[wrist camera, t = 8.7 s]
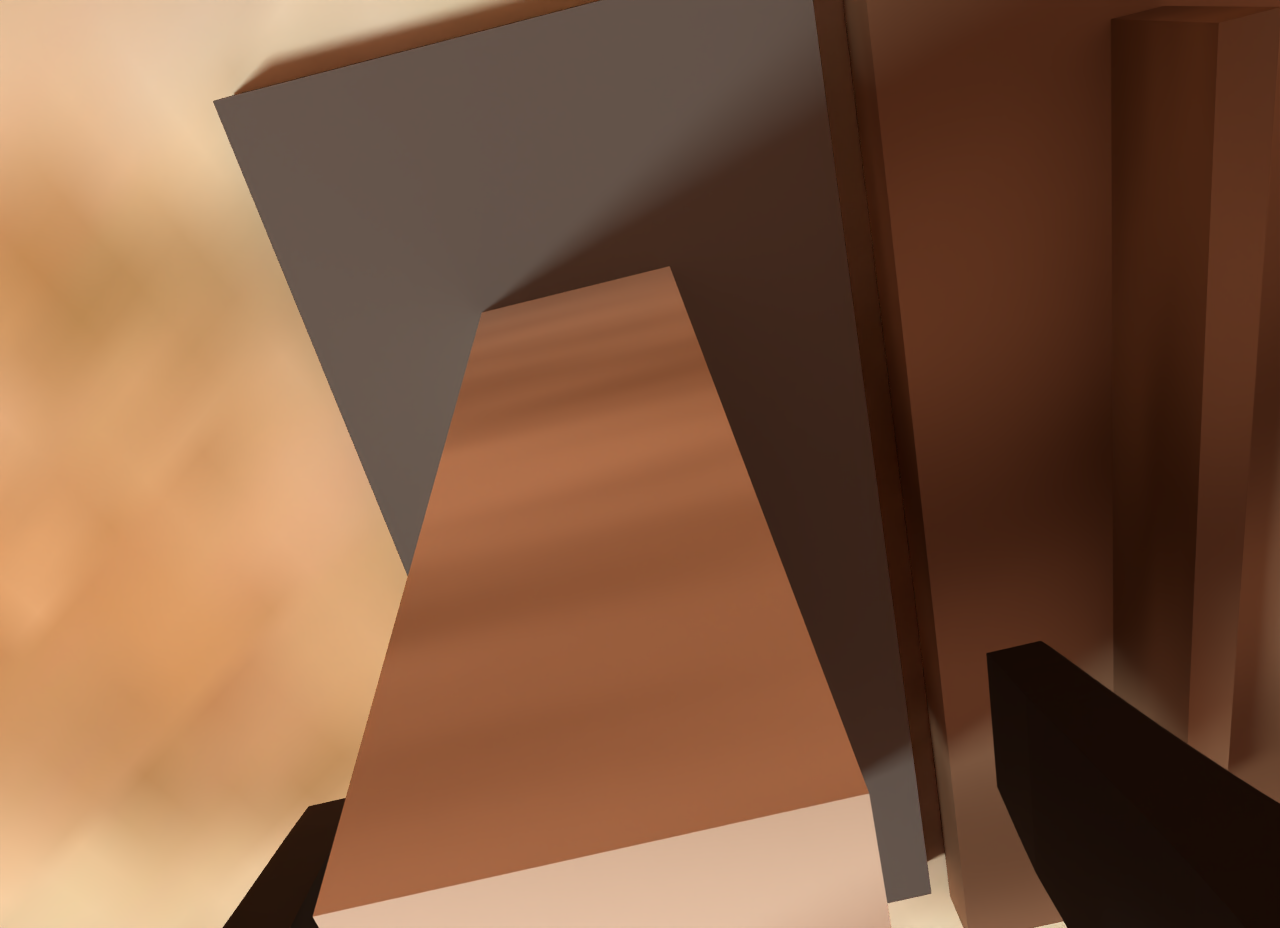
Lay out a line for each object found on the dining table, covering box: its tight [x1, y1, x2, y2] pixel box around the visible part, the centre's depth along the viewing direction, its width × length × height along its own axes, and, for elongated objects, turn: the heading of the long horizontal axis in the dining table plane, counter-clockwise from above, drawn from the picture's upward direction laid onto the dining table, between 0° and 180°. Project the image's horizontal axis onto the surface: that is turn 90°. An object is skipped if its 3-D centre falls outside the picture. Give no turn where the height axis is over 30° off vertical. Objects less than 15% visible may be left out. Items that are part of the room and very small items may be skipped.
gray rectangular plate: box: [213, 0, 931, 903], centre depth 15 cm, size 16×7×1 cm, turn 13°
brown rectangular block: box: [313, 266, 891, 928], centre depth 10 cm, size 10×2×9 cm, turn 13°
